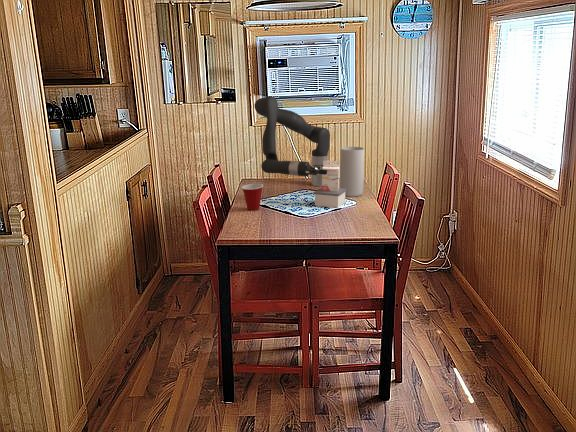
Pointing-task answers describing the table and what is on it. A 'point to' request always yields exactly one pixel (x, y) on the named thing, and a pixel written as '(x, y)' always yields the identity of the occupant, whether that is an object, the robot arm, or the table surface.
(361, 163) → the cylinder vase
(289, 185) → the table surface
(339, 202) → the podium
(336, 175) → the ink cartridge box
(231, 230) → the table surface
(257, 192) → the plastic cup
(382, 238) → the table surface
